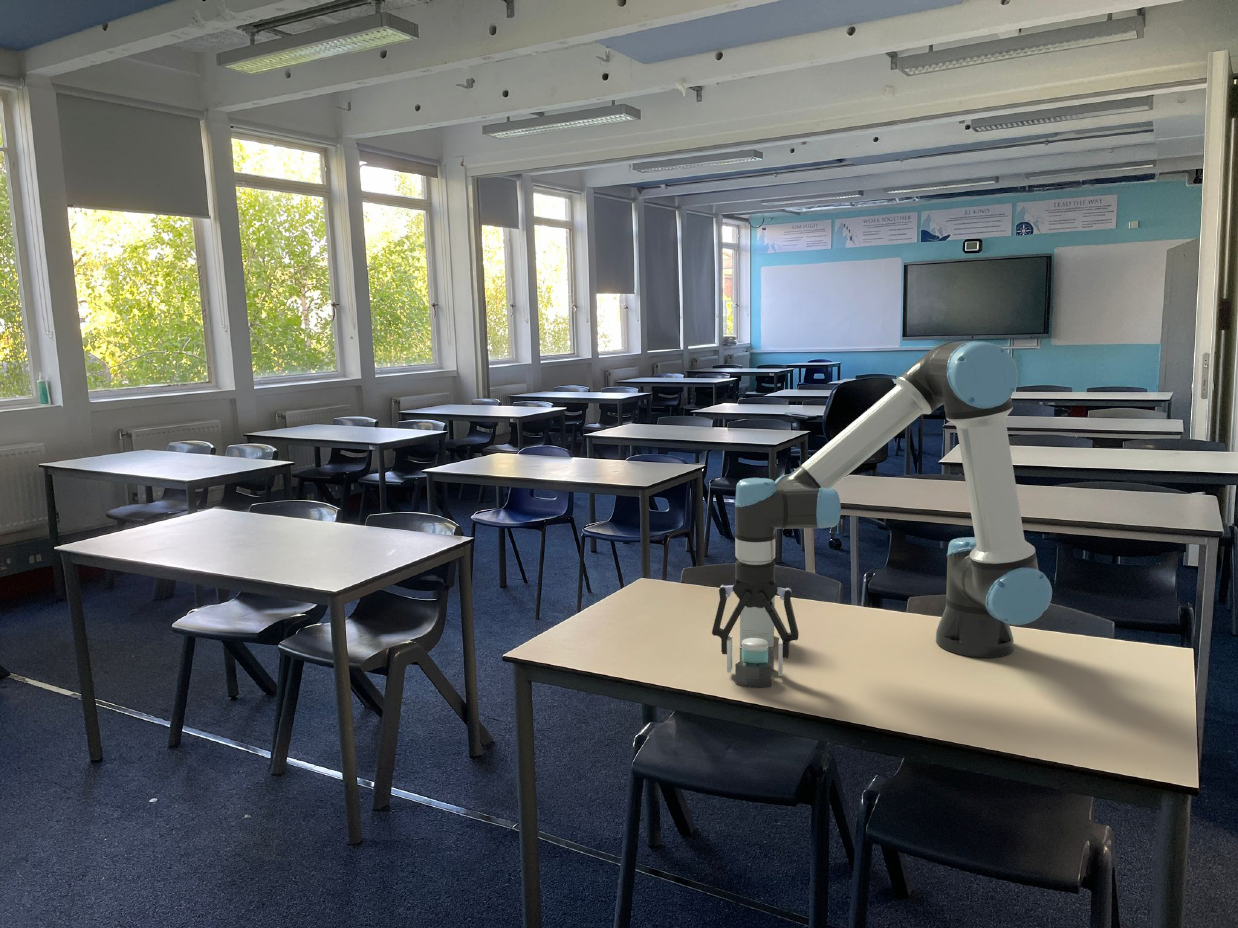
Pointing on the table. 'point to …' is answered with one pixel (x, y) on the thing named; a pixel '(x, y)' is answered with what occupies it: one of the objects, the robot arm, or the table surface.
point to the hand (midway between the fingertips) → (754, 671)
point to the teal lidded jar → (755, 650)
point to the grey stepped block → (754, 672)
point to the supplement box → (756, 624)
